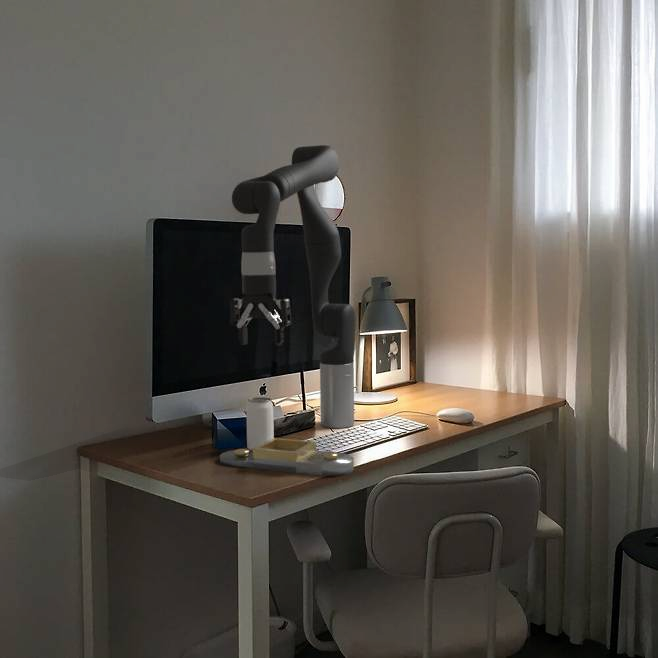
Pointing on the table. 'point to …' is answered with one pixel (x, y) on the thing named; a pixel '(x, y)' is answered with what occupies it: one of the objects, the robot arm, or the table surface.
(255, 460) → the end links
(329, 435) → the table surface
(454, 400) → the table surface
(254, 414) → the can
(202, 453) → the table surface
